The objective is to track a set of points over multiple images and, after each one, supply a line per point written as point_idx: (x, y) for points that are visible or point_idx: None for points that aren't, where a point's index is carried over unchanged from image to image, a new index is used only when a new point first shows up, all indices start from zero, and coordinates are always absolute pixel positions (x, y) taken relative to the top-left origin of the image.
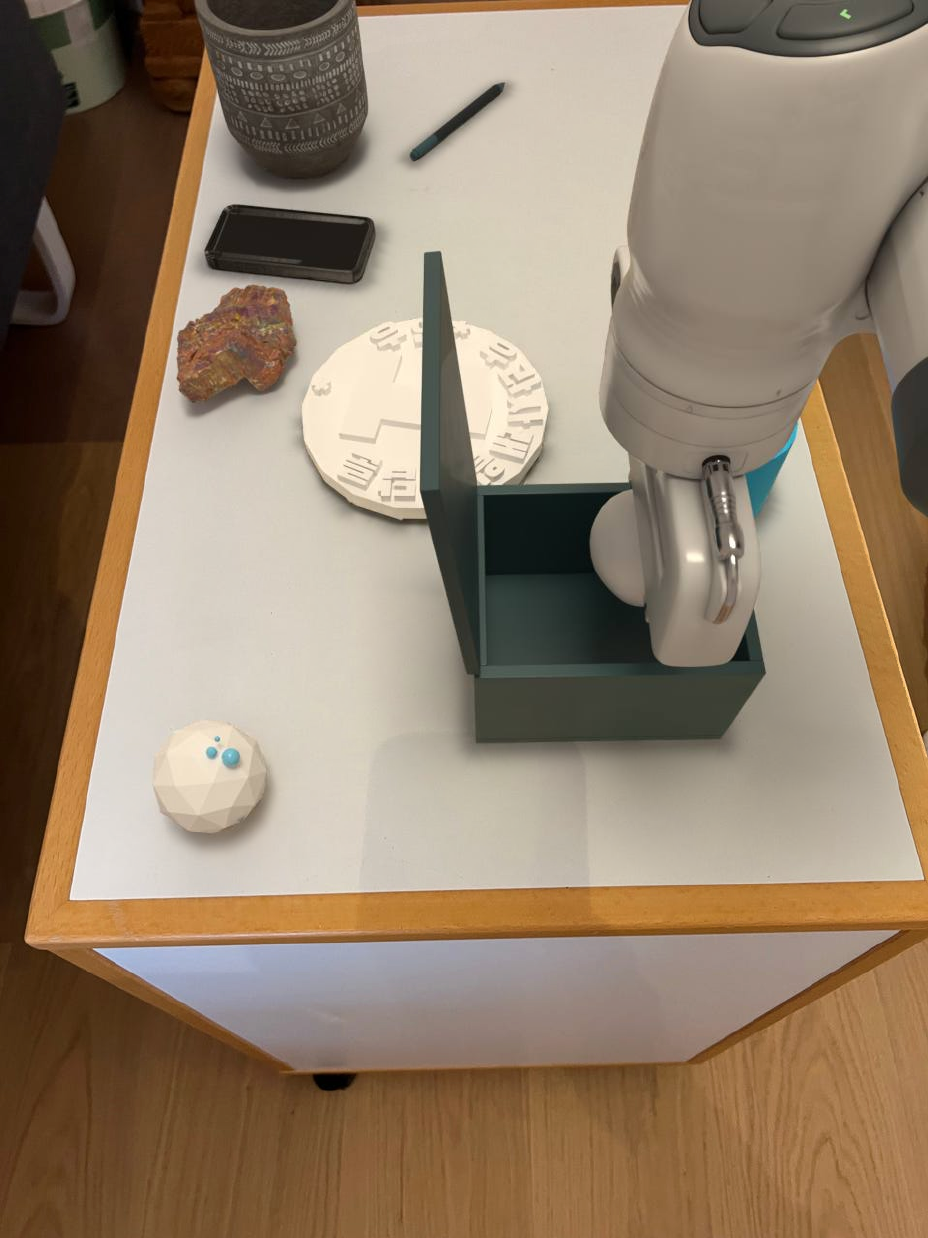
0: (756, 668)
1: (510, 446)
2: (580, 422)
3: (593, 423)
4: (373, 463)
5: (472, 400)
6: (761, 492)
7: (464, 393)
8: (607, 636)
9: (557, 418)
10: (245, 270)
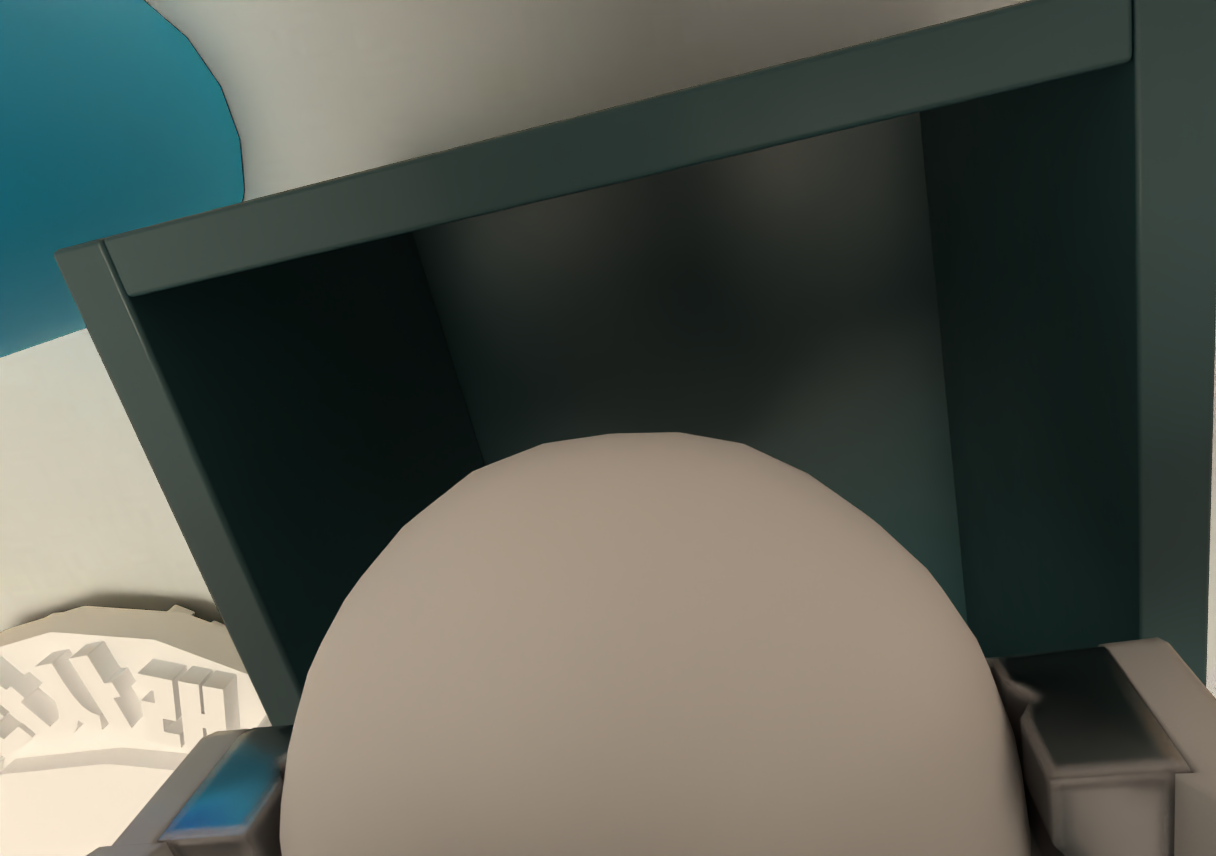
0: (1186, 17)
1: (200, 718)
2: (53, 517)
3: (41, 487)
4: None
5: (109, 801)
6: (47, 7)
7: (99, 818)
8: (667, 409)
9: (67, 569)
10: None
